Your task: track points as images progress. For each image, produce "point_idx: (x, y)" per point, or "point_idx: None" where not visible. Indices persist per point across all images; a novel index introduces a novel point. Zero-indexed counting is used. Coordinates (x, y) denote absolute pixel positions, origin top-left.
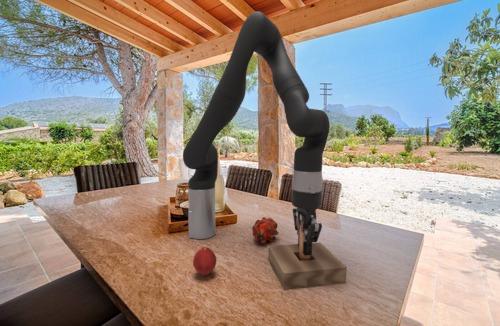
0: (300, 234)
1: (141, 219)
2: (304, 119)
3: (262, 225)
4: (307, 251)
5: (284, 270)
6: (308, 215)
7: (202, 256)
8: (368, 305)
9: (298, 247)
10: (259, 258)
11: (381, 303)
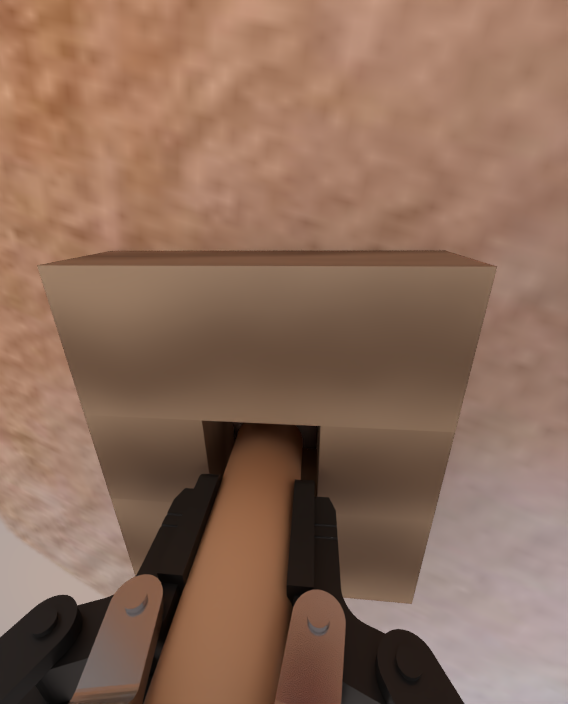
0: (208, 631)
1: None
2: None
3: None
4: (169, 513)
5: (72, 282)
6: None
7: None
8: (53, 506)
9: (303, 483)
10: (482, 182)
11: (68, 539)
